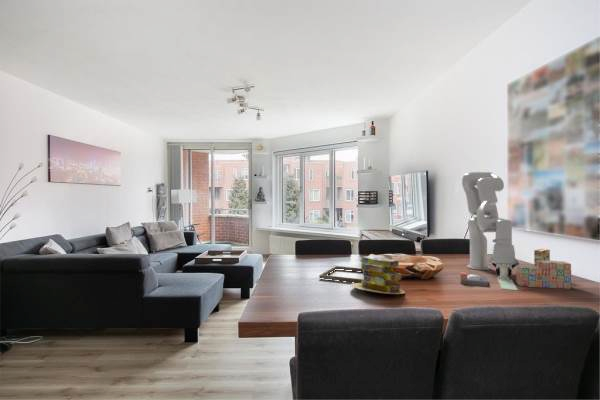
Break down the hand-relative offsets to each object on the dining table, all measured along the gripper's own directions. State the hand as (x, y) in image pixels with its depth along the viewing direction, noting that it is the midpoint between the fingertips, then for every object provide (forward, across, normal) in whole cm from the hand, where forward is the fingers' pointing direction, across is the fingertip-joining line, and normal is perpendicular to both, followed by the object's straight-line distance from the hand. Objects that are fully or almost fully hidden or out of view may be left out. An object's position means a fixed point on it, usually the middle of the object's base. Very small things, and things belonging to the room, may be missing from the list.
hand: (503, 275), depth 179 cm
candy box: (+2, +19, +10) cm, 22 cm away
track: (+2, 0, -14) cm, 14 cm away
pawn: (+2, 0, 0) cm, 2 cm away
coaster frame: (+2, -77, -31) cm, 83 cm away
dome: (+1, -15, -16) cm, 22 cm away
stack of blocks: (+2, +16, -9) cm, 18 cm away
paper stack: (+2, -56, -54) cm, 78 cm away
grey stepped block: (+2, -15, -16) cm, 22 cm away
